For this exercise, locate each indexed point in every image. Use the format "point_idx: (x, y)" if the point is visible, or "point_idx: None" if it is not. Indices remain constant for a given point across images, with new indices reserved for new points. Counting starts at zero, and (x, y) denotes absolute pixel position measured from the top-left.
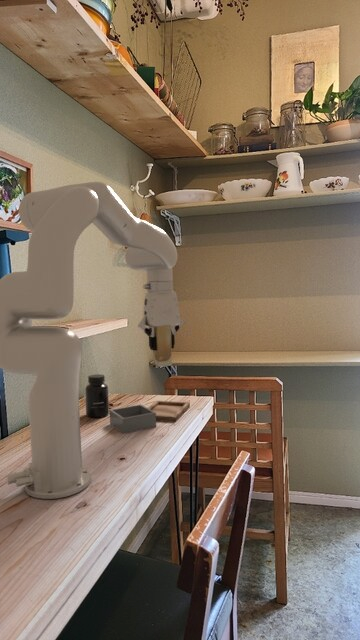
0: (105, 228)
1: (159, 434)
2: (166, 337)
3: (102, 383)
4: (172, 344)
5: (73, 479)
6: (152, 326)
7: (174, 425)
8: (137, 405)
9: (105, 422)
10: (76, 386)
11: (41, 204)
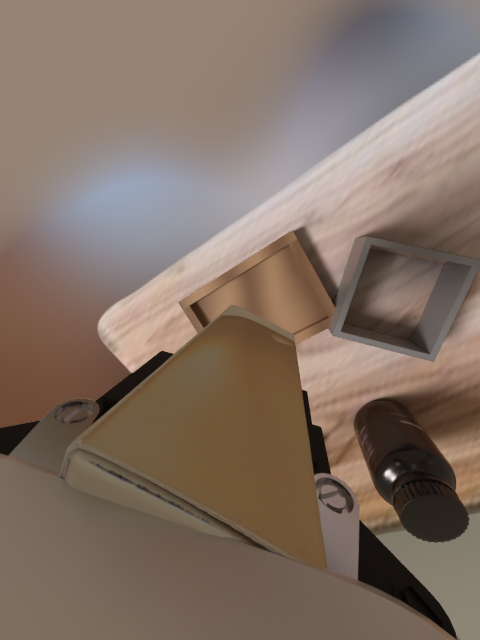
0: None
1: (395, 182)
2: (221, 376)
3: (415, 474)
4: (161, 363)
5: None
6: (441, 629)
7: (314, 212)
8: (347, 335)
9: (412, 364)
10: None
11: None
